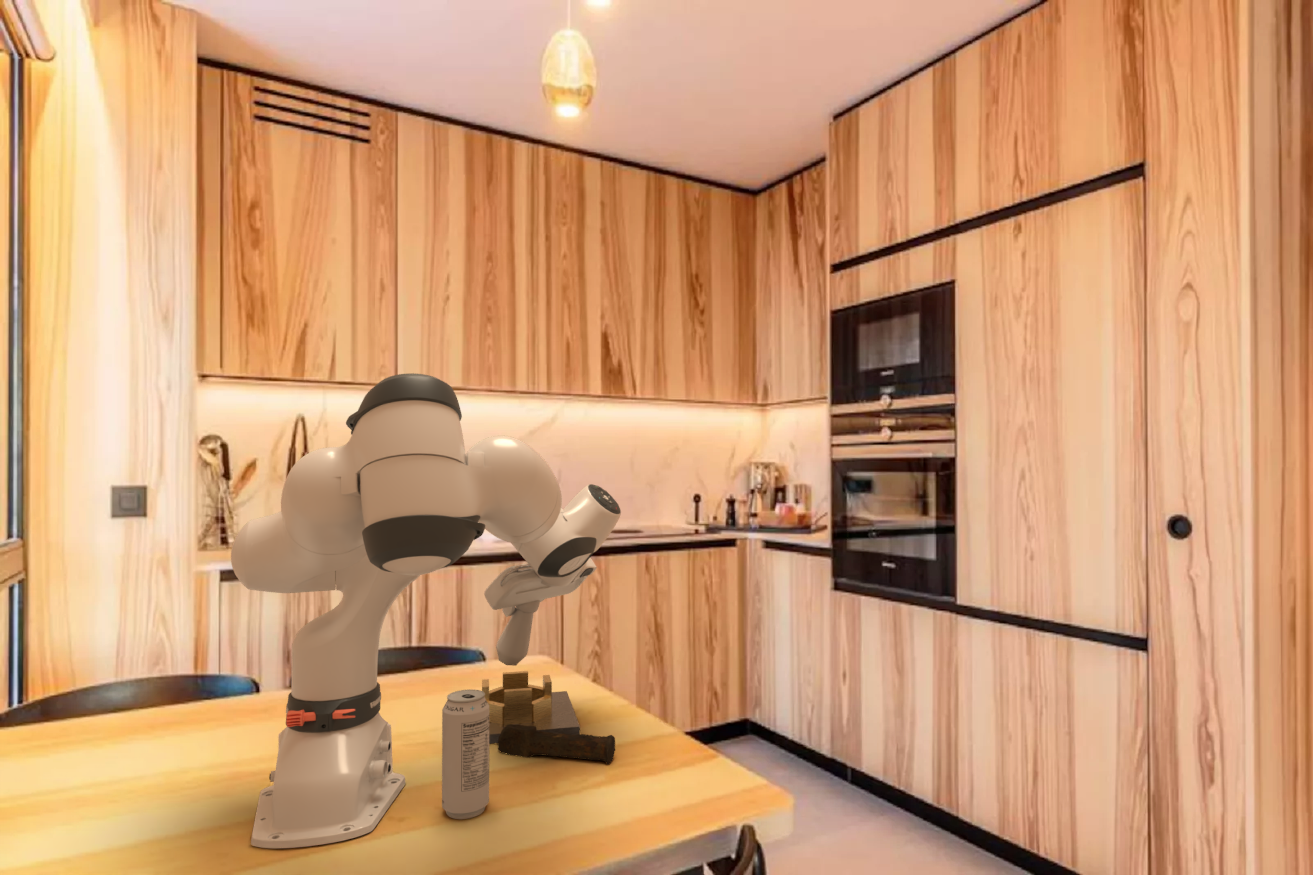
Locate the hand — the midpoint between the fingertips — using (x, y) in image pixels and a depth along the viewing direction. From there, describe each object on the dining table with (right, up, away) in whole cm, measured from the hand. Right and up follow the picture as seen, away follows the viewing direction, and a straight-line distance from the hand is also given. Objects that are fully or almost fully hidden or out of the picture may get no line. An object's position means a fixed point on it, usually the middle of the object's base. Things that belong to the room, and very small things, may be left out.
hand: (515, 611), depth 132 cm
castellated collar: (0, -19, -1) cm, 19 cm away
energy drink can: (0, -18, -35) cm, 40 cm away
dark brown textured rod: (+9, -19, -18) cm, 28 cm away
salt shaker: (-1, -9, +1) cm, 9 cm away
